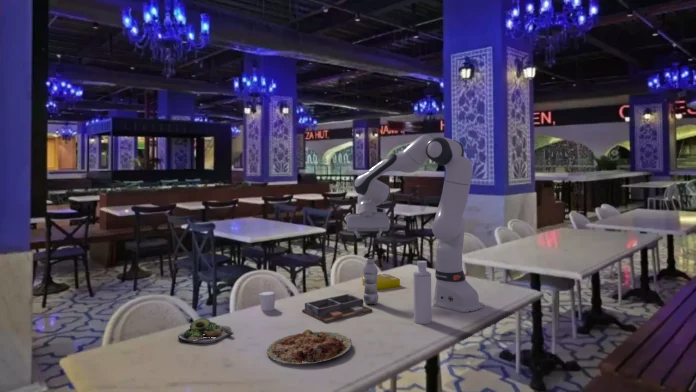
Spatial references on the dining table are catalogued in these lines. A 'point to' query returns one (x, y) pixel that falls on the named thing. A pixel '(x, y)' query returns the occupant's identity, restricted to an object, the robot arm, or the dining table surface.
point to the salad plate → (204, 331)
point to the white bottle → (422, 294)
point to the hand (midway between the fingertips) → (368, 237)
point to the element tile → (386, 282)
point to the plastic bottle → (370, 282)
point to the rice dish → (309, 347)
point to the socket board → (336, 308)
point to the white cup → (267, 300)
